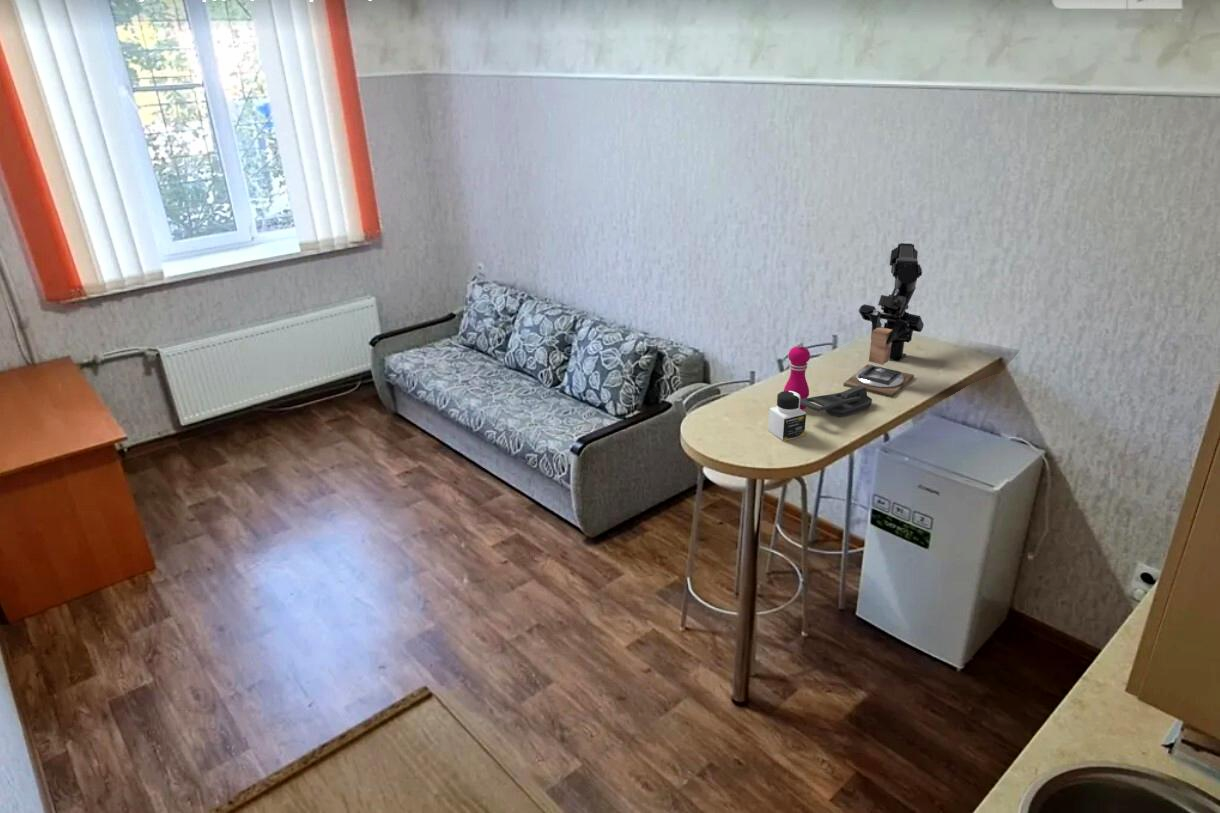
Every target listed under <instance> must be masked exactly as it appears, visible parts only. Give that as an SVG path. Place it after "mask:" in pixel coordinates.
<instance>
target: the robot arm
mask: <svg viewBox="0 0 1220 813" xmlns="http://www.w3.org/2000/svg"><path fill="white" fill-rule="evenodd" d="M918 253H919V252H918V250H917V249H916V248H915V244H913V243H903V242H902V243H901V242H900V243H897V247H895V248H893V249H892V250H891V252H890V257H889V258H890V259H889V266H891V268H890V269H891V270H890V274H892V277H894V288H893V290H892V293H891V294H888V295H885V294H884V295H883V294H881V295H880V297H879V301H878V304H877V305H878V306H880V309H881V310H882V311H879V310H877V308H876V307H875V305H869V304H866V303H864V304H862V305H861V306H860V307H859V309H858V313H859V314H860V316H861V318H862V319H863V320H864V321H869V322H871V337H872V331H873V330H874V329H876V328H878V327H882V325H883V328H887V329H892V332H891V333H890V335H889V337H888V339H887V342H886V344H889V343H891V342H892V344H891V352H890V359H889V360H891V361H896V362H900V361H901V360H903V359H904V358H905V357H906V356H907V353H904V347H905V343H910V342H911V341H912V337H913V333H914V332H918V333H921V332H922V331H923V328H924V327H925V326H924V322H923V320H922V317H921V316H920V315H918V314H913V313H909V312H907V311H906V310H909V306H910V305H909V303H910V301H911V299H912V297H913V295H914V293H915V290H916V285H917V281H918V279H919V278H920V277H921V276H922V274H923V269H922V267H921V264H919V260H918ZM881 320H886V322H884V324H882V323H881ZM871 337H870V338H871Z"/></svg>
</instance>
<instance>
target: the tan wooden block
mask: <svg viewBox="0 0 1220 813" xmlns="http://www.w3.org/2000/svg"><path fill="white" fill-rule="evenodd" d="M891 332H892V329H887V328H884V326H883V327H882V326H881V327H878V328H876V329H874V330H873V331H872V330H871V333H872V337H870V347H869V355H868V356H869V357H868V362H870V363H874V364H876V365H877V364H878V365H881V366H884V364H886V363H888V362H889V361H890V360H891V359H890V352H891V344H892V342H891V343H889V344H886V342H887V339H888V337H889V335H890V333H891Z"/></svg>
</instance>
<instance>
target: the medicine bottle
mask: <svg viewBox="0 0 1220 813" xmlns="http://www.w3.org/2000/svg"><path fill="white" fill-rule="evenodd" d="M768 414H769V415H768V432H770V433H771V434H772V433H773V434H772V435H774V436H776V437H777V438H778V439H779V440H781V441H782V442H785V441H789V440H793V439H796V438H801V437H804V436H805V435H806V434H805V432H806V420H807V412H806V411H804V409H802V410H801V409H800V395H799V394H798V393H796V392H793V391H784V390H783V391H780V392H779V393H778V394H777V398H776V406H773V407H770V408H769V413H768Z"/></svg>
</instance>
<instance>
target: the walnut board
mask: <svg viewBox="0 0 1220 813" xmlns="http://www.w3.org/2000/svg"><path fill="white" fill-rule="evenodd" d="M870 365H871V364H866V365H865V366H864V367H862V368H861V369H865V368H868V367H869V366H870ZM886 369H888V368H886ZM898 371H899V372H901V375H902V376H903V383H902V384H901V385H899V386H897V387H893V388H876V387H870V386H867V385H864V384H862V383H860V382H859V381H857V379H856V373H855V374H853V375H852V376H850V377H849V379H847V380H845V382H843V387H846V388H847V387H848V388H849V389H850V388H853V387H856V386H858V385H860V386H863V387H865V388H866V389H867V393H871V394H875V395H878V396H879V395H880V396H883V397H887V398H893V397H894V396H895V395H896V394H897V393H898V392H899V391H900V390H902V389H903V388H904V387H905V386H906V385H907V384H909V382H910V381H912V380H913V379H914V377H915V375H914V374H913V373H908V372H905V371H904V372H903V371H900V370H898Z"/></svg>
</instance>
